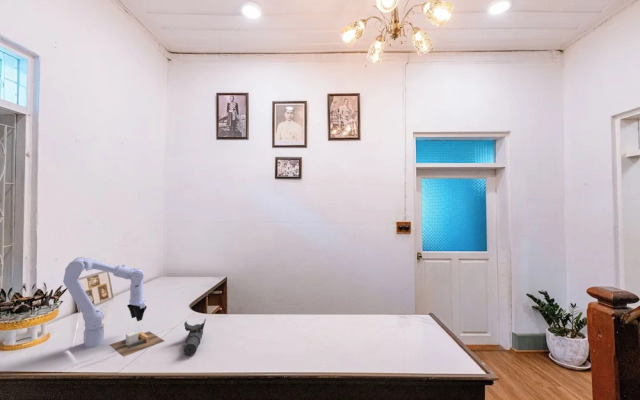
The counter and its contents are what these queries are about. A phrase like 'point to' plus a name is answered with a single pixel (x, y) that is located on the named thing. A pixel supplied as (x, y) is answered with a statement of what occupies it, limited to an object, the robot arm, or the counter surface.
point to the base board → (136, 344)
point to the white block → (131, 338)
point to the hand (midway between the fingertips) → (136, 318)
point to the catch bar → (143, 337)
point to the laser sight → (193, 338)
